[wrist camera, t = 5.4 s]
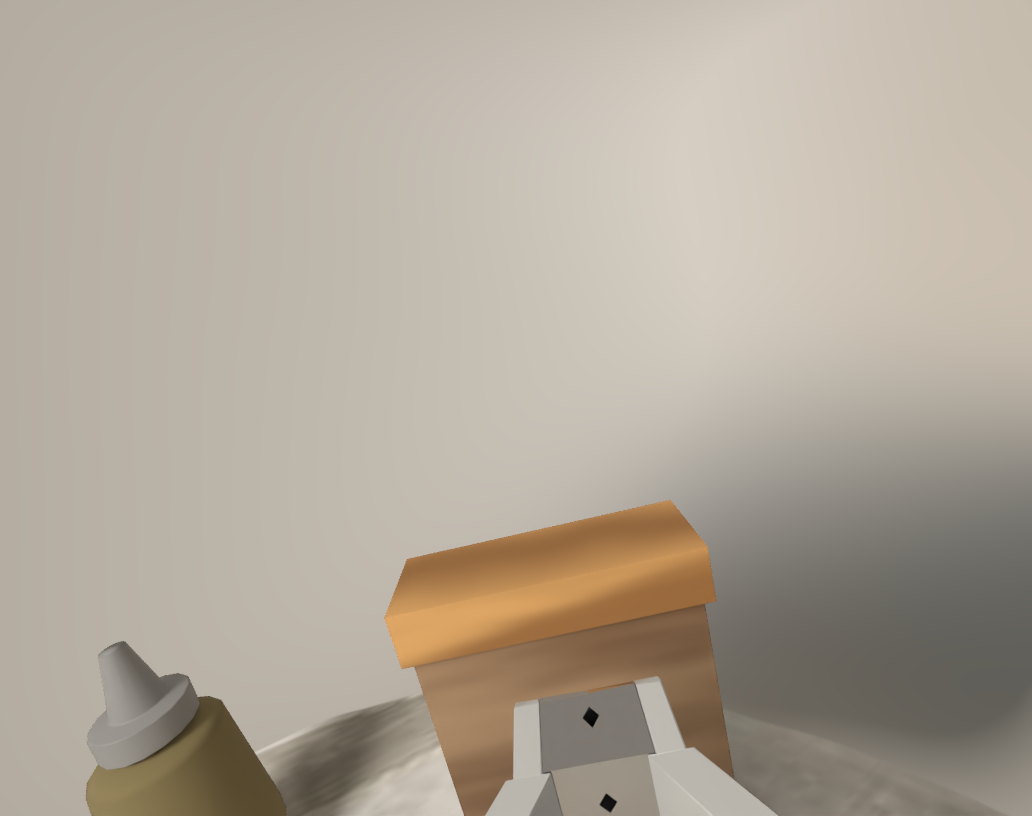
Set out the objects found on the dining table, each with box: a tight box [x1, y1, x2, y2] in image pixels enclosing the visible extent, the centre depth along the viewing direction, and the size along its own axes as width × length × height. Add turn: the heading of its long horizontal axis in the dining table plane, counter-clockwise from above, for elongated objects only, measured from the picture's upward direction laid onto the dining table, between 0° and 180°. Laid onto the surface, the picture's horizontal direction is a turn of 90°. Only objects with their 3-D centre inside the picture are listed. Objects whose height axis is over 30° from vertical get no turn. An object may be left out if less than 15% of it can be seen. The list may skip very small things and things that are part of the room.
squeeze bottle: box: [86, 641, 286, 816], centre depth 27 cm, size 8×8×18 cm
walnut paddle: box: [385, 500, 734, 816], centre depth 19 cm, size 4×11×21 cm, turn 91°
